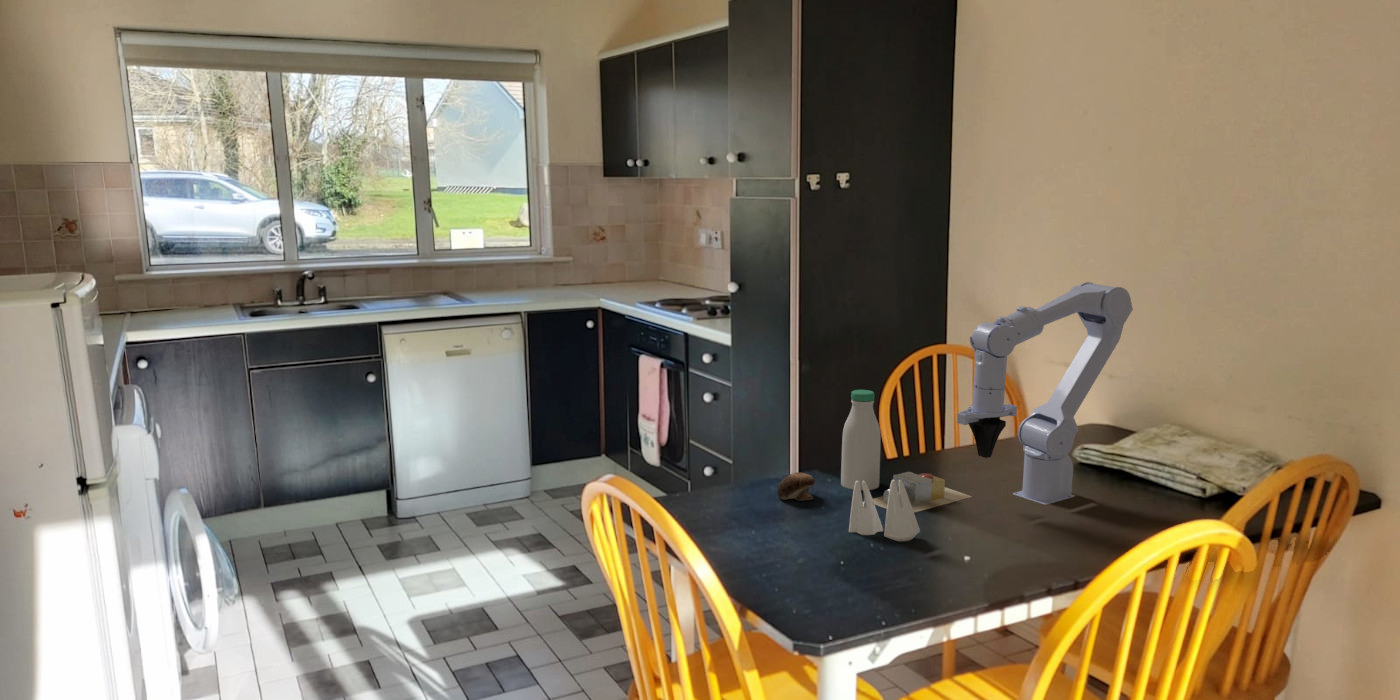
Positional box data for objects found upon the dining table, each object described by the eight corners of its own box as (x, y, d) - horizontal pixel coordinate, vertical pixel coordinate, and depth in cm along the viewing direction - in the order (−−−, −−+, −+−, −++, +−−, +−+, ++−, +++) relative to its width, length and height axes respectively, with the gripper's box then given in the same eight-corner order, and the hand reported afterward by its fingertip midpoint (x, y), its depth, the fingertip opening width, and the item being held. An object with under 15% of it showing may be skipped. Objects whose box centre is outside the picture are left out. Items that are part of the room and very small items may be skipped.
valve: (927, 491, 196) (927, 470, 195) (944, 497, 192) (945, 475, 191) (900, 498, 191) (900, 476, 191) (916, 504, 188) (917, 482, 187)
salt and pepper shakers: (920, 540, 171) (923, 480, 169) (912, 548, 168) (915, 486, 166) (855, 528, 177) (857, 469, 175) (847, 535, 174) (848, 475, 172)
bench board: (933, 486, 201) (933, 483, 200) (972, 499, 192) (972, 496, 192) (865, 503, 190) (865, 500, 190) (903, 518, 182) (903, 515, 182)
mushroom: (828, 490, 188) (811, 461, 189) (793, 510, 186) (776, 481, 187) (817, 497, 195) (801, 469, 197) (784, 516, 193) (768, 488, 195)
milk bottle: (881, 493, 196) (885, 396, 192) (843, 493, 196) (846, 395, 193) (875, 481, 204) (879, 387, 200) (838, 481, 204) (841, 387, 200)
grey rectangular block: (908, 494, 194) (909, 471, 193) (930, 502, 189) (931, 479, 188) (877, 502, 189) (878, 478, 188) (900, 511, 184) (900, 487, 183)
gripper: (998, 379, 192) (993, 446, 194) (946, 386, 184) (942, 456, 187) (1027, 385, 186) (1022, 454, 189) (975, 394, 178) (970, 465, 181)
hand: (984, 456), depth 187 cm, fingers closed
